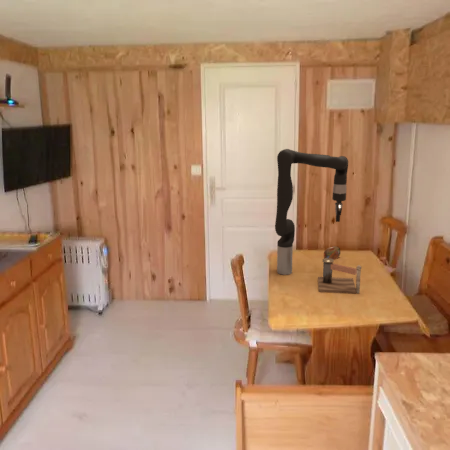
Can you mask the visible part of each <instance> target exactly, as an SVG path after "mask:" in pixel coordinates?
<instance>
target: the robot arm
mask: <svg viewBox="0 0 450 450" xmlns="http://www.w3.org/2000/svg"><path fill="white" fill-rule="evenodd" d="M276 160H277V172H278V173H277V174H278V176H277V188H276V189H277V190H276V214H275V216H276V217H275V221H274V222H275V223H274V231H275V233H276V235H277V236H278V237H280V238H278V240H277V243H276V244H277V246H276V247H277V249H276V250H277V253H276V254H277V257H276V263H277V264H276V273H277V274H279V275H285V276H287V275H291V274H293V254H294V253H293V248H294V247H293V246H294V245H293V244H294V241H295V235H296V234H295V233H296V226H295V222H294V221H293V220H292V219H290V218H287V217H288V212H289V210H290V208H291V204H292V202H293V200H294V199H293V197H294V186H293V180H292V165H293V164H302V165H308V166H311V167H312V166H313V167H318V168H328V169H333V170H335V173H334V176H333V186H332V199H331V200H333V201H336V202H335V203H334V210H335V222H336V223H339V222H341V215H342V212H343V211H342V210H343V207H344V206H343V204H344V203H343V202H345V201H346V200H347V181H348V180H347V179H348V177H347V176H348V171H349V170H348V169H349V159H348V158H347V157H346V156H343V155H340V156H332V155H327V154H320V153H318V154H317V153H306V152H300V151H298V150H297V151H296V150H292V149H289V148H285V149H282V150H280V151H278V154H277V157H276Z"/></svg>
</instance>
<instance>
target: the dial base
mask: <svg viewBox="0 0 450 450" xmlns="http://www.w3.org/2000/svg"><path fill="white" fill-rule="evenodd" d="M356 269H357V274H356V277H355V278H356V281H354V278H352V277H333V276H332V282H331V283H324V282H323V276H317V285H318V288H317V289H318V292H319V293H333V294H334V293H335V294H350V295H351V294H354V295H355V294H360V288H361V287H360V286H361V272H362V266H361V265H360V264H358V265H356Z"/></svg>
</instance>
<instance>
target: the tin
mask: <svg viewBox="0 0 450 450" xmlns="http://www.w3.org/2000/svg"><path fill="white" fill-rule="evenodd" d="M340 255H341V248H340V247H339V246H335V245H334V246H332V247H327V248H325V250H324V251H323V259H324V258H331V259H333V260H334V261H335V260H337V259H338V258H339V257H340Z"/></svg>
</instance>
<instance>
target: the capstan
mask: <svg viewBox="0 0 450 450" xmlns="http://www.w3.org/2000/svg"><path fill="white" fill-rule="evenodd" d="M334 261H335V259H334V260H333V259H331V258H324V257H323V259H322V262H323V264H322V265H323V266H322V267H323V268H322V277H323V282H324V283H331V282H332V277H333V271H337V272H341V273H345V274H350V275H355V276H357V268H355V267H351V266H346V265H342V264H338V263H335V262H334Z"/></svg>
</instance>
